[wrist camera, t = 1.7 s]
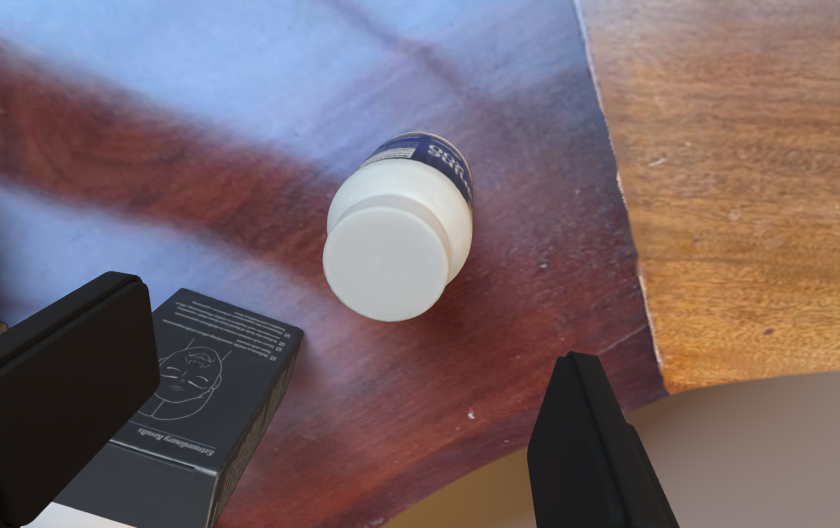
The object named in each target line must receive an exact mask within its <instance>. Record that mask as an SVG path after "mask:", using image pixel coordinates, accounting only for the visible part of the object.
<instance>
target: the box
mask: <svg viewBox="0 0 840 528" xmlns="http://www.w3.org/2000/svg"><path fill="white" fill-rule="evenodd" d="M152 319H153V326H154V333H155V340H156V347H157V354H158V361H159V368H160V375H161V379H160V384H159V387H158V388H157V390H156V392H155V393H154V394H153V395H152V396H151V397H150V398H149V399H148V400H147V401H146V403H145V404H144V405H143V406H142V407H141V408H140V409H139V410H138V411H137V412H136V413H135V414H134V415H133V416H132V417H131V418H130V419H129V420H128V422H127V423H126V424H125V425H124V426H123V427H122V428H121V429H120V430H119V431H118V432H117V433H116V434H115V435H114V436H113V437H112V438H111V440H110V441H109V442H108V443H107V444H106V445H105V446H104V447H103V448H102V449H101V450H100V451H99V452H98V453H97V454H96V455H95V456H94V458H93V459H92V460H91V461H90V462H89V463H88V464H87V465H86V466H85V467H84V468H83V469H82V470H81V471H80V472H79V473H78V474H77V476H76V477H75V478H74V479H73V480H72V481H71V482H70V483H69V484H68V485H67V486H66V487H65V488H64V489H63V490H62V491H61V492H60V494H59V495H58V496H57V497H56V498H55V499H54V500H53V501H52V502H54V503H57V504H61V505H64V506H67V507H70V508H73V509H76V510H80V511H83V512H87V513H90V514H93V515H96V516H99V517H102V518H106V519H109V520H112V521H116V522H119V523H122V524H125V525H129V526H132V527H136V528H213V527H214V526H215V524H216V522H217V520H218V518H219V516H220V514H221V513H222V511H223V509H224V507H225V505H226V503H227V501H228V500H229V498H230V496H231V494H232V492H233V490H234V488H235V487H236V485H237V483H238V481H239V479H240V478H241V476H242V474H243V472H244V470H245V468H246V466H247V464H248V462H249V461H250V459H251V457H252V455H253V453H254V451H255V449H256V447H257V446H258V444H259V442H260V440H261V438H262V436H263V434H264V433H265V431H266V429H267V427H268V425H269V423H270V421H271V420H272V418H273V416H274V414H275V412H276V410H277V409H278V407H279V405H280V403H281V401H282V399H283V397H284V395H285V393H286V390H287V386H288V383H289V380H290V376H291V373H292V370H293V366H294V363H295V359H296V356H297V353H298V349H299V346H300V343H301V339H302V336H303V331H302V330H301V329H299V328H297V327H294V326H291V325H288V324H285V323H282V322H279V321H276V320H273V319H271V318H268V317H265V316H262V315H259V314H256V313H253V312H250V311H247V310H245V309H242V308H239V307H236V306H233V305H230V304H227V303H225V302H222V301H219V300H216V299H213V298H210V297H207V296H204V295H201V294H199V293H196V292H193V291H190V290H187V289H184V288H181V289H180V290H178V291H177V292H176V293H175V294H174V295H172V296H171V297H170V298H169V299H168V300H166V301H165V302H164V303H163V304H162V305H160V306H159V307H158V308H157V309H156V310H155V311H153V312H152Z"/></svg>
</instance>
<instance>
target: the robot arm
mask: <svg viewBox="0 0 840 528" xmlns="http://www.w3.org/2000/svg"><path fill="white" fill-rule="evenodd" d="M160 379H161V375H160V368H159V361H158V354H157V347H156V340H155V333H154V326H153V319H152V312H151V304H150V297H149V290H148V287H147V285H146V284H144V283H143V282H142V280H141V278H140V277H138V276H137V275H132V274H126V273H120V272H114V271H109V272H106V273H104V274H102V275H101V276H99V277H97V278H95V279H94V280H92V281H90V282H89V283H87V284H85V285H83V286H82V287H80V288H78V289H77V290H75V291H73V292H71V293H70V294H68V295H66V296H65V297H63V298H61V299H60V300H58V301H56V302H54V303H53V304H51V305H49V306H48V307H46V308H44V309H42V310H41V311H39V312H37V313H36V314H34V315H32V316H31V317H29V318H27V319H25V320H24V321H22V322H20V323H19V324H17V325H15V326H13V327H12V328H10V329H8V330H7V331H5V332H3V333H2V334H0V528H20V527H21V526H25V525H28V524H29V523H31V522H32V521H34V520H35V519H36V518H37V517H38V516H39V515H40V514H41V513H42V512H43V510H44V509H45V508H46V507H47V506H48V505H49V504H50V503H51V502H52V501H53V500H54V499H55V498H56V497H57V496H58V495H59V494H60V492H61V491H62V490H63V489H64V488H65V487H66V486H67V485H68V484H69V483H70V482H71V481H72V480H73V479H74V478H75V477H76V476H77V474H78V473H79V472H80V471H81V470H82V469H83V468H84V467H85V466H86V465H87V464H88V463H89V462H90V461H91V460H92V459H93V458H94V456H95V455H96V454H97V453H98V452H99V451H100V450H101V449H102V448H103V447H104V446H105V445H106V444H107V443H108V442H109V441H110V440H111V438H112V437H113V436H114V435H115V434H116V433H117V432H118V431H119V430H120V429H121V428H122V427H123V426H124V425H125V424H126V423H127V422H128V420H129V419H130V418H131V417H132V416H133V415H134V414H135V413H136V412H137V411H138V410H139V409H140V408H141V407H142V406H143V405H144V404H145V403H146V401H147V400H148V399H149V398H150V397H151V396H152V395H153V394H154V393H155V392H156V390H157V388H158V387H159V384H160ZM527 461H528V468H529V475H530V482H531V490H532V496H533V504H534V511H535V517H536V524H537V528H680V527H679V525H678V523H677V521H676V518H675V516H674V514H673V512H672V510H671V507H670V505H669V503H668V501H667V498H666V496H665V494H664V491H663V489H662V487H661V485H660V483H659V480H658V478H657V476H656V474H655V472H654V469H653V467H652V465H651V463H650V460H649V458H648V456H647V454H646V451H645V449H644V447H643V445H642V442H641V440H640V438H639V436H638V433H637V432H636V430H635V428H634V427H633V426H632V425H630V424H628V423H626V421H625V419H624V416H623V414H622V411H621V409H620V407H619V404H618V402H617V400H616V397H615V395H614V393H613V390H612V388H611V386H610V384H609V381H608V379H607V377H606V374H605V372H604V370H603V367H602V365H601V363H600V360H599V358H598V357H597V356H595V355H589V354H583V353H578V352H572V351H570V352H569V353H568V354H567V355H566V357H562V356H560V357H559V358H558V359H557V361H556V364H555V367H554V370H553V373H552V376H551V379H550V382H549V385H548V388H547V391H546V394H545V397H544V400H543V403H542V406H541V409H540V412H539V415H538V418H537V421H536V424H535V427H534V430H533V433H532V436H531V439H530V442H529V445H528V453H527Z"/></svg>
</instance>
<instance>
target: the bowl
mask: <svg viewBox="0 0 840 528" xmlns="http://www.w3.org/2000/svg"><path fill="white" fill-rule="evenodd" d="M20 528H136V527H132V526H129V525H125V524H122V523H119V522H116V521H112V520H109V519H106V518H102V517H99V516H96V515H93V514H90V513H87V512H83V511H80V510H76V509H73V508H70V507H67V506H64V505H61V504H57V503H54V502H51V503H50V504H49V505H48V506H47V507H46V508H45V509H44V510H43V512H42V513H41V514H40V515H39V516H38V517H37V518H36V519H35V520H34V521H32V522H31V523H29V524H28V525H25V526H21V527H20Z"/></svg>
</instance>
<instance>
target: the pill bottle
mask: <svg viewBox="0 0 840 528" xmlns="http://www.w3.org/2000/svg"><path fill="white" fill-rule="evenodd" d="M472 191H473V189H472V179H471V174H470V170H469V167H468V165H467V163H466V161H465V159H464V158H463V156H462V154H461V153H460V152H459V151H458V150H457V149H456V148H455V147H454V146H453V145H452V144H451V143H450V142H448V141H447V140H445V139H444V138H442V137H440V136H437V135H434V134H431V133H426V132H408V133H404V134H401V135H398V136H395V137H393V138H391V139H390V140H388V141H387V142H385V143H384V144H383V145H382V146H380V147H379V148H378V149H377V150H376V151H374V153H373V154H372V155H371V156H370V157H369V158H368V159H367V160H366V161H365V162H364V163H363V164H362V165H361V166H360V167H359V168H358V169H357V170H356V171H355V172H354V173H353V174H352V175H351V176H350V177H349V178H348V179H347V180H346V181H345V182H344V183H343V184H342V185H341V187H340V189H339V190H338V191H337V193H336V195H335V197H334V199H333V201H332V203H331V206H330V209H329V213H328V219H327V234H328V238H327V241H326V244H325V247H324V252H323V267H324V273H325V276H326V279H327V282H328V284H329V286H330V288H331V289H332V291H333V292H334V294H335V295H336V296H337V297H338V298H339V300H341V302H342V303H343V304H345V305H346V306H347V307H348V308H350V309H351V310H353V311H355V312H356V313H358V314H360V315H362V316H364V317H367V318H371V319H373V320H378V321H388V322H394V321H403V320H407V319H410V318H414V317H416V316H418V315H420V314H422V313H424V312H425V311H427V310H428V309H429V308H430V307H432V306H433V305H434V303H435V302H436V301H437V300H438V299H439V297H440V296H441V294H442V292H443V290H444V288H445V286H446V285H447V284H448V283H449V282H450V281H451V280H453V279H454V277H455V276H456V275H457V274H458V273H459V271H460V270H461V268H462V267H463V265H464V263H465V261H466V259H467V256H468V254H469V251H470V246H471V240H472V224H473V222H472V215H473V202H472Z"/></svg>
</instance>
